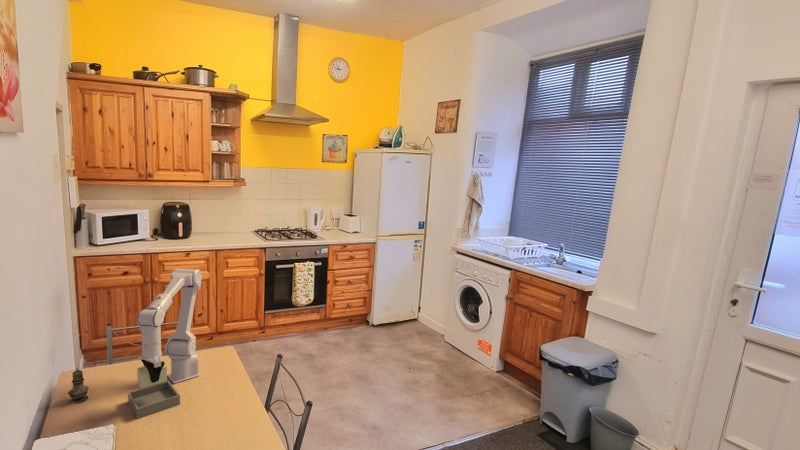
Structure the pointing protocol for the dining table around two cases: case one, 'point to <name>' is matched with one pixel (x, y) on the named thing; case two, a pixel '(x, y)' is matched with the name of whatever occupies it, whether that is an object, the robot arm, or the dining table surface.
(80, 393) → the dark ornate statuette
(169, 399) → the big crate
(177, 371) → the robot arm
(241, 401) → the dining table surface
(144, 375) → the small crate
